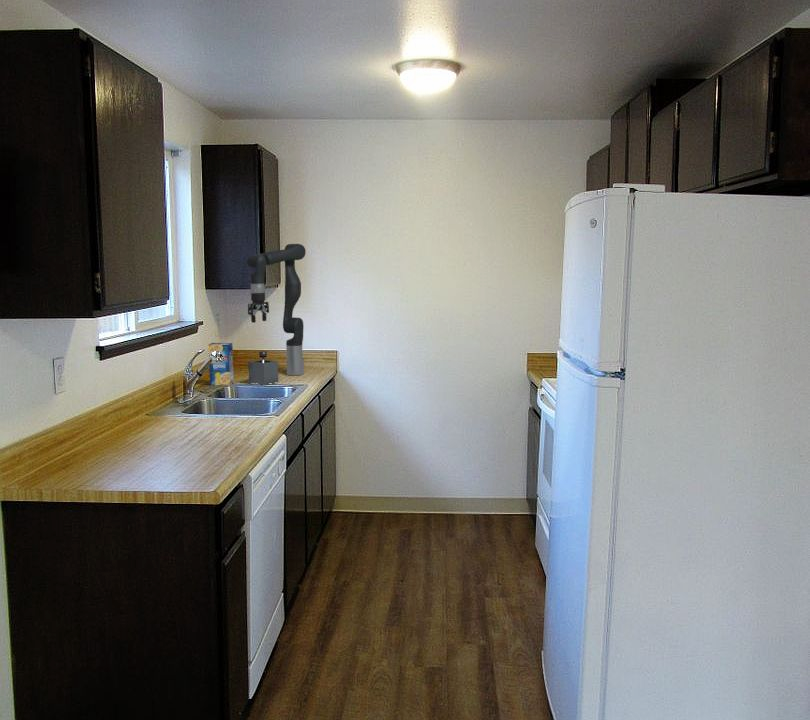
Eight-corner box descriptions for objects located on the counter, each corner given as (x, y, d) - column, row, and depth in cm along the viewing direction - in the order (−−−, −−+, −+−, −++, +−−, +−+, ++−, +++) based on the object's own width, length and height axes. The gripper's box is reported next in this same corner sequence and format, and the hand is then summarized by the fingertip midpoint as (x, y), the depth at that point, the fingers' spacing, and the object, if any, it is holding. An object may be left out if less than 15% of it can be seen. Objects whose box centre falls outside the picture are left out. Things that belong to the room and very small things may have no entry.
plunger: (263, 378, 404) (262, 350, 402) (274, 380, 400) (273, 351, 397) (252, 381, 397) (251, 351, 395) (264, 382, 393) (263, 352, 390)
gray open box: (263, 381, 406) (262, 359, 404) (278, 382, 400) (277, 361, 399) (249, 384, 397) (248, 361, 395) (264, 385, 391) (263, 363, 389)
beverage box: (230, 385, 392) (228, 344, 389) (209, 385, 392) (208, 344, 389) (233, 383, 399) (232, 342, 396) (213, 383, 399) (212, 342, 396)
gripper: (261, 291, 408) (262, 320, 411) (243, 292, 396) (244, 322, 399) (271, 291, 404) (272, 320, 407) (254, 292, 392) (255, 323, 395)
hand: (259, 321), depth 403 cm, fingers open, 8 cm apart
